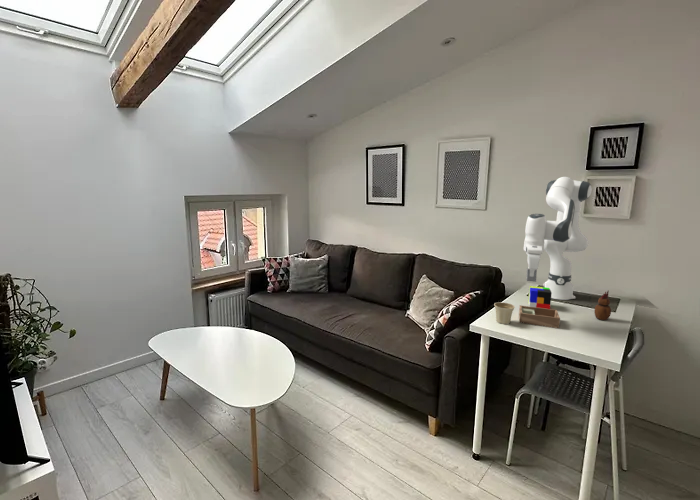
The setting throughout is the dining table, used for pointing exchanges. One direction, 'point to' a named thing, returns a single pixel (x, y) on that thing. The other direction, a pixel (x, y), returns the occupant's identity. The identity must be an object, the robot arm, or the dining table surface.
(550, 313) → the walled box
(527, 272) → the connector
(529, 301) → the puzzle toy
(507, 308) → the flower pot
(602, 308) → the wooden figurine
